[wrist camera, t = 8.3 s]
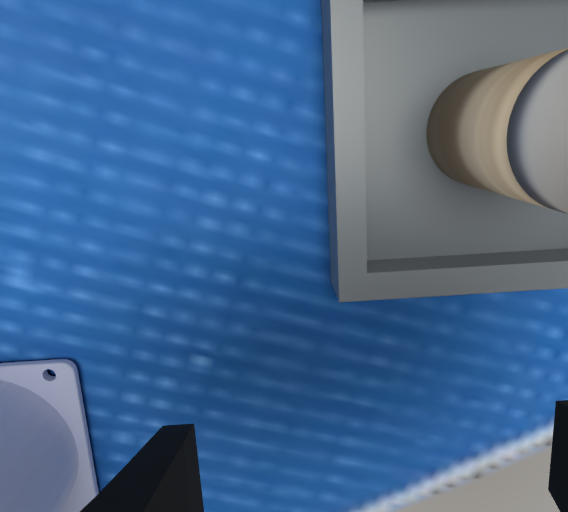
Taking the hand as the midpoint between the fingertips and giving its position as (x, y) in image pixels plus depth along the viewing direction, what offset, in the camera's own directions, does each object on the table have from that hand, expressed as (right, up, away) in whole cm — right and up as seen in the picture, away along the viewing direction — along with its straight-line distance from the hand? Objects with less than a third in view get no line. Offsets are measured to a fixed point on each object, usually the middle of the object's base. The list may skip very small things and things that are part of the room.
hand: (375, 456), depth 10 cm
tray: (+5, +9, +9) cm, 13 cm away
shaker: (+5, +9, +8) cm, 13 cm away
